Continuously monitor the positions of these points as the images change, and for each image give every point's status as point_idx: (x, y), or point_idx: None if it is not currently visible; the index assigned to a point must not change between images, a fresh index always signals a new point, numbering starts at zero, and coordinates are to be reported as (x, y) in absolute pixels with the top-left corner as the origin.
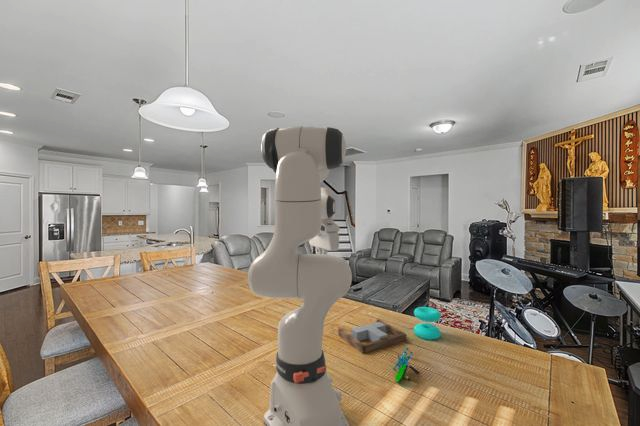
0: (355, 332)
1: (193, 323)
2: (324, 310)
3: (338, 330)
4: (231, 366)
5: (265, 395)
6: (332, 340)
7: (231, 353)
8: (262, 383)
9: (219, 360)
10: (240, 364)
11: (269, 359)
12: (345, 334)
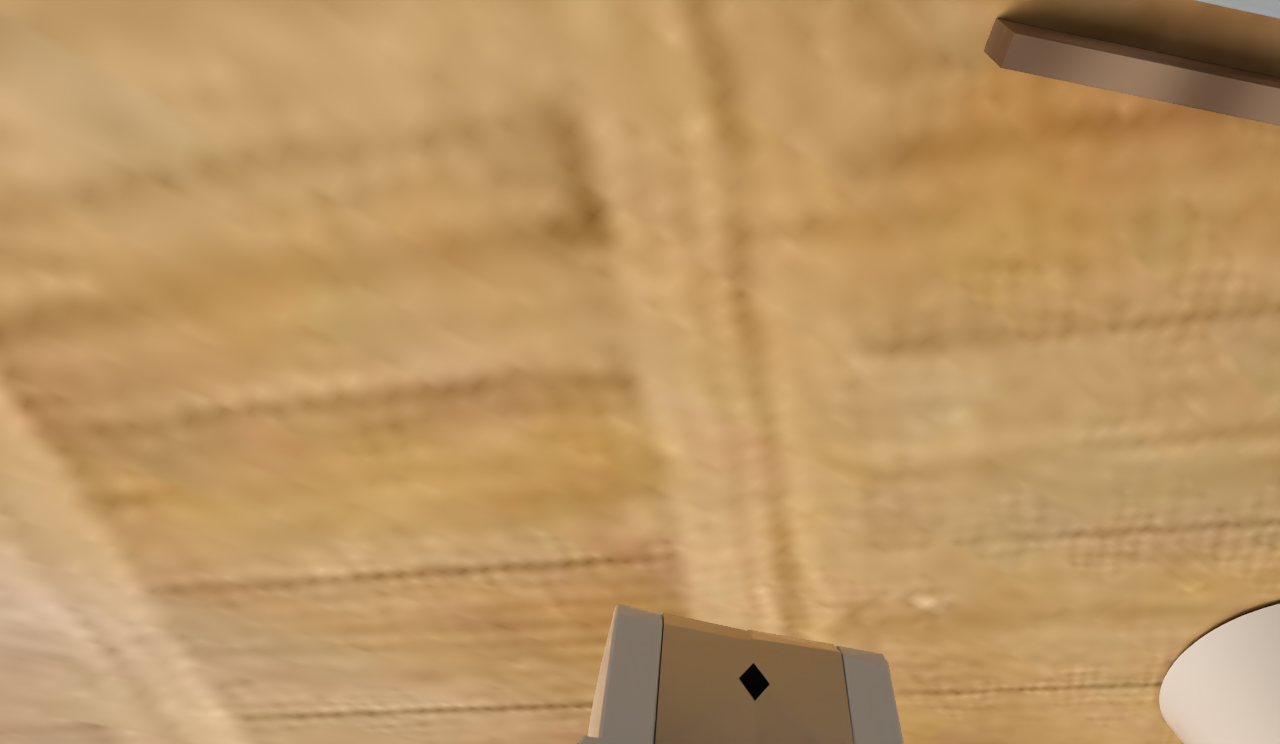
0: (1247, 9)
1: (138, 677)
2: None
3: (998, 62)
4: None
5: (1090, 715)
6: (1007, 171)
7: None
8: (1009, 692)
9: None
10: None
11: (855, 594)
12: (1139, 96)
